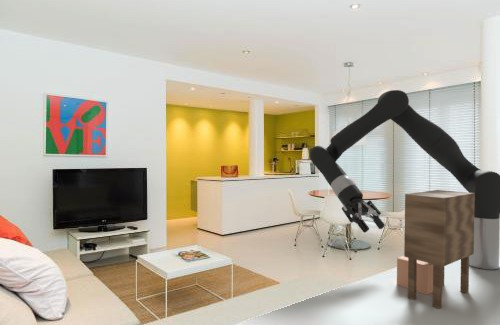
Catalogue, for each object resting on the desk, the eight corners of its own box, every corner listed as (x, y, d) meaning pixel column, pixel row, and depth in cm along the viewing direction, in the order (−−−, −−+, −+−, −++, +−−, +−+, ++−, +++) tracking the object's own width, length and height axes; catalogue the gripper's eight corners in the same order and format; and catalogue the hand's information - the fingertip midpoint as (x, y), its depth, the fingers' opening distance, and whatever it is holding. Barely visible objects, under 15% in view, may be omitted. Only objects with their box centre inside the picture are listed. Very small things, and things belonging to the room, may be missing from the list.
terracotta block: (404, 281, 102) (405, 255, 102) (435, 290, 95) (435, 263, 95) (396, 284, 100) (397, 257, 100) (427, 294, 93) (427, 266, 92)
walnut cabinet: (431, 280, 103) (433, 189, 102) (472, 293, 93) (474, 193, 93) (399, 295, 92) (400, 193, 91) (442, 310, 83) (444, 198, 82)
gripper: (339, 184, 111) (369, 225, 102) (365, 182, 119) (395, 220, 110) (326, 199, 115) (354, 239, 106) (352, 196, 123) (380, 233, 114)
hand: (375, 229), depth 108 cm, fingers open, 8 cm apart
